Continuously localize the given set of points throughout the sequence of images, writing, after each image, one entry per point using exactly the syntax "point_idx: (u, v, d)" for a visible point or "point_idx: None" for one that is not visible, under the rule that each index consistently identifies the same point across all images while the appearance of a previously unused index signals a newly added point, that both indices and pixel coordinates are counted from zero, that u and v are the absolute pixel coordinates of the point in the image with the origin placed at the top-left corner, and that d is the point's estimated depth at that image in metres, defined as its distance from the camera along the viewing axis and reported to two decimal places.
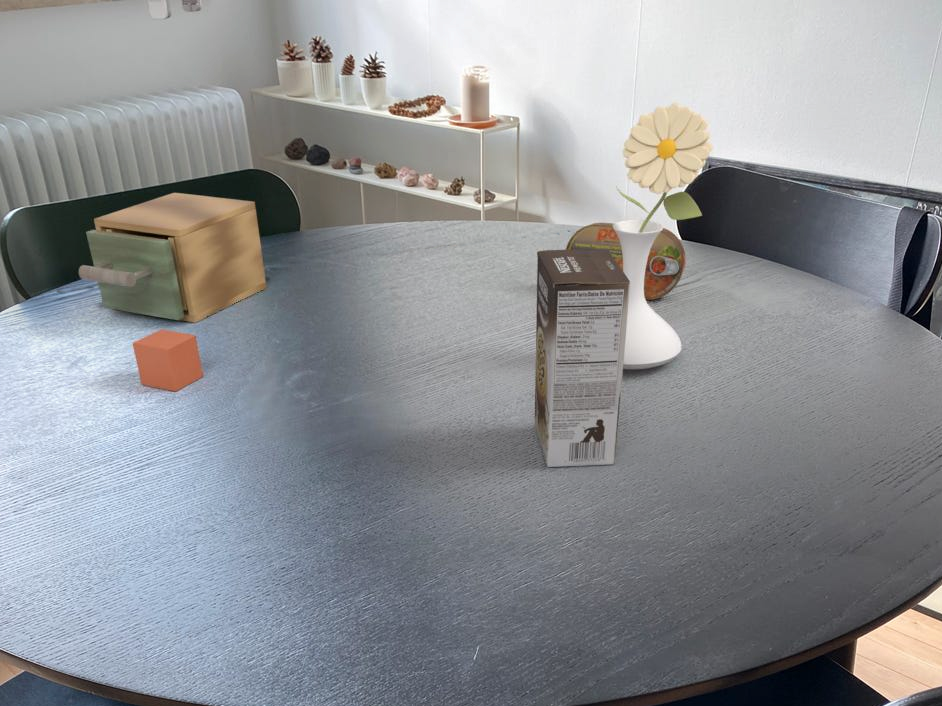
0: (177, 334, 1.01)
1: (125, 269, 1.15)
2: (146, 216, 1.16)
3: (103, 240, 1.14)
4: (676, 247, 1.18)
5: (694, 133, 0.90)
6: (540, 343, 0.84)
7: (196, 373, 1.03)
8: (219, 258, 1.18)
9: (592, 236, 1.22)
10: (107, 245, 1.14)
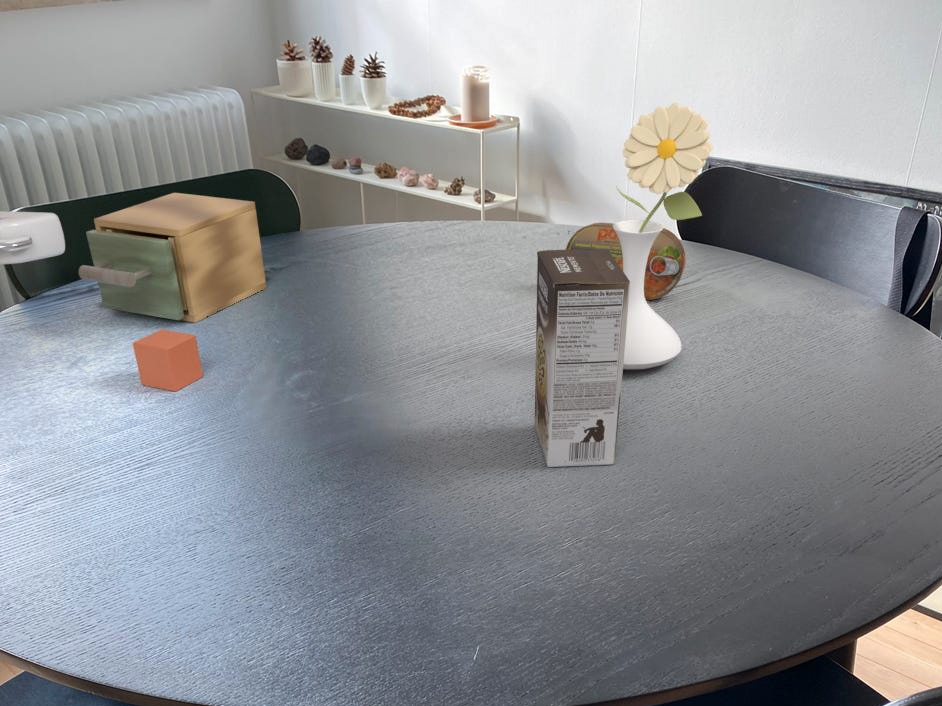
0: (177, 334, 1.01)
1: (125, 269, 1.15)
2: (146, 216, 1.16)
3: (103, 240, 1.14)
4: (676, 247, 1.18)
5: (694, 133, 0.90)
6: (540, 343, 0.84)
7: (196, 373, 1.03)
8: (219, 258, 1.18)
9: (592, 236, 1.22)
10: (107, 245, 1.14)
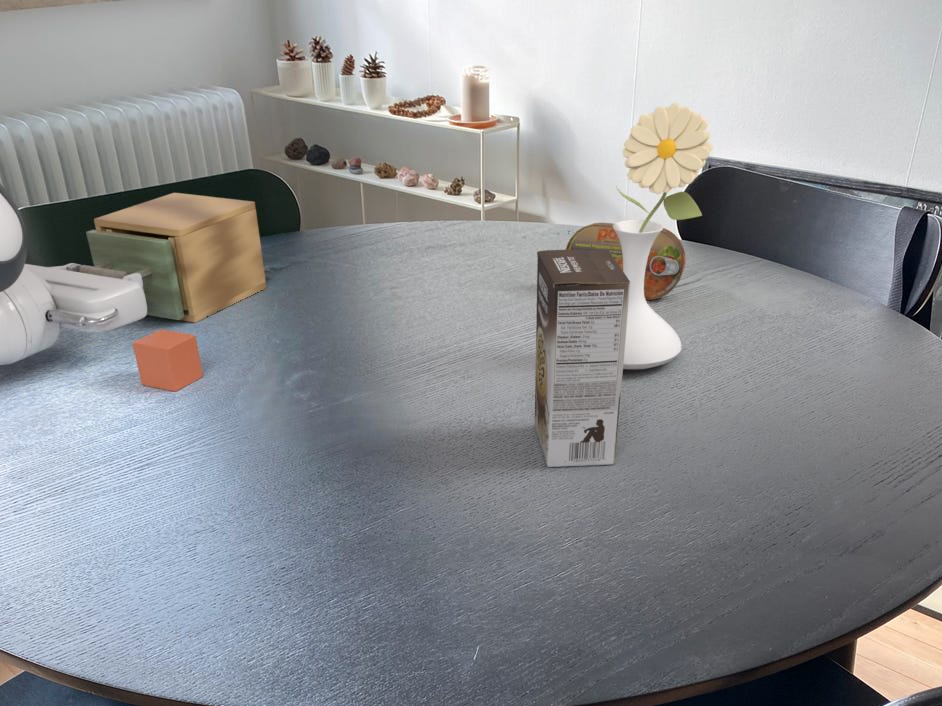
0: (177, 334, 1.01)
1: (125, 269, 1.15)
2: (146, 216, 1.16)
3: (103, 240, 1.14)
4: (676, 247, 1.18)
5: (694, 133, 0.90)
6: (540, 343, 0.84)
7: (196, 373, 1.03)
8: (219, 258, 1.18)
9: (592, 236, 1.22)
10: (107, 245, 1.14)
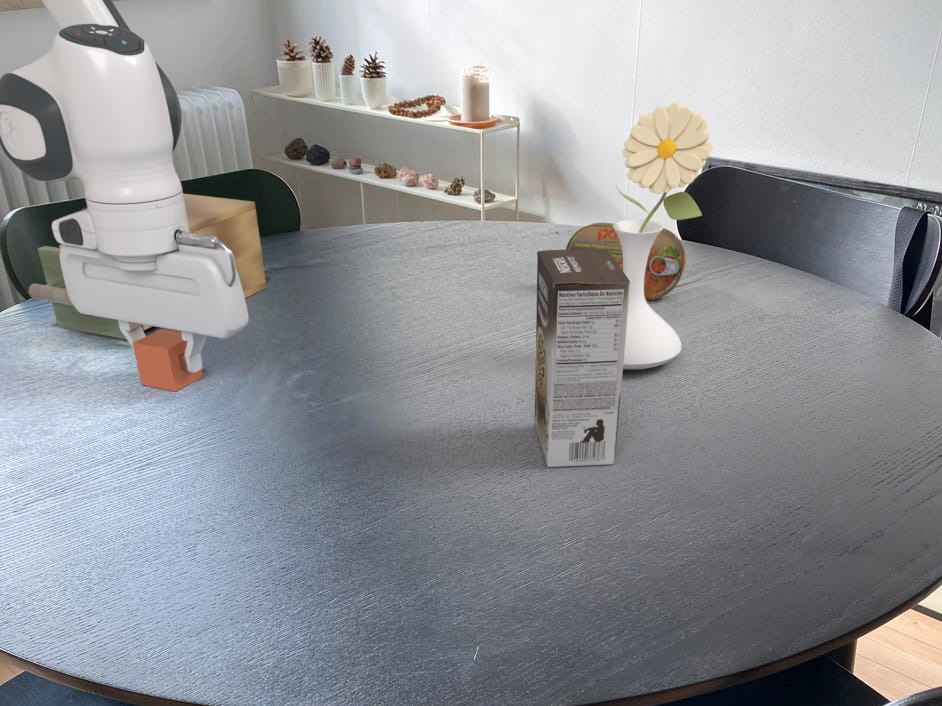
0: (177, 334, 1.01)
1: None
2: None
3: (55, 257, 1.08)
4: (676, 247, 1.18)
5: (694, 133, 0.90)
6: (540, 343, 0.84)
7: (196, 373, 1.03)
8: None
9: (592, 236, 1.22)
10: (59, 262, 1.09)
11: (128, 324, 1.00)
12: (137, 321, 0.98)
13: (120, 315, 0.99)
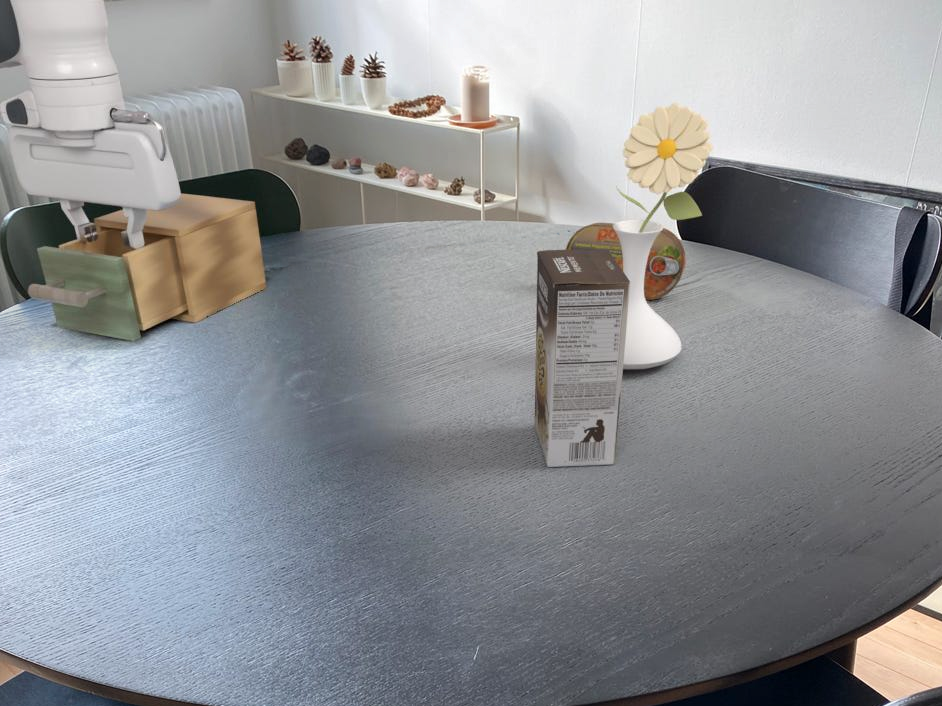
0: None
1: (78, 287, 1.09)
2: (146, 216, 1.16)
3: (55, 257, 1.08)
4: (676, 247, 1.18)
5: (694, 133, 0.90)
6: (540, 343, 0.84)
7: None
8: (219, 258, 1.18)
9: (592, 236, 1.22)
10: (58, 262, 1.08)
11: (69, 203, 1.09)
12: (80, 199, 1.07)
13: (64, 194, 1.08)
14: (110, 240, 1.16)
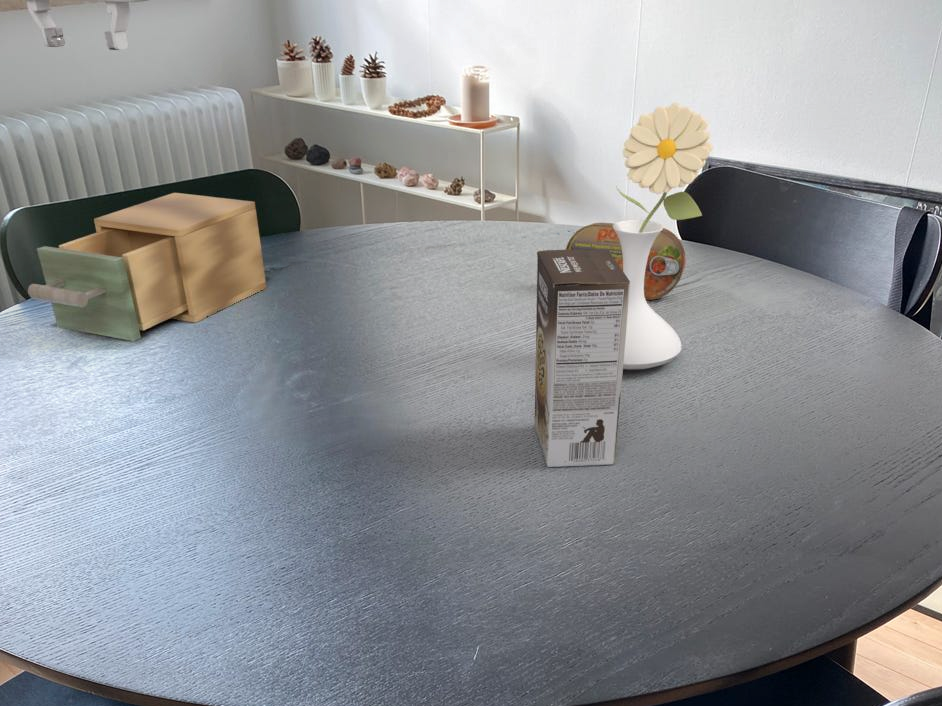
0: None
1: (78, 287, 1.09)
2: (146, 216, 1.16)
3: (54, 257, 1.08)
4: (676, 247, 1.18)
5: (694, 133, 0.90)
6: (540, 343, 0.84)
7: None
8: (219, 258, 1.18)
9: (592, 236, 1.22)
10: (58, 262, 1.08)
11: (35, 4, 1.11)
12: None
13: None
14: (110, 240, 1.16)
